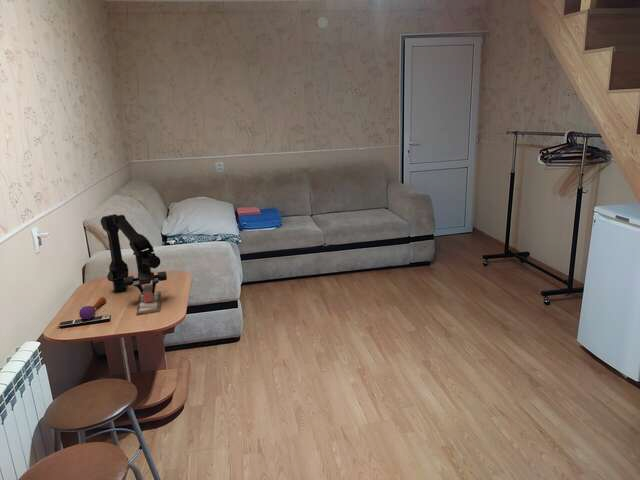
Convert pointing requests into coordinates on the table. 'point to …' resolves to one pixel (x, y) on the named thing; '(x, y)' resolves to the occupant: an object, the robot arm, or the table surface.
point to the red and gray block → (148, 293)
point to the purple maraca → (90, 309)
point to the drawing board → (149, 304)
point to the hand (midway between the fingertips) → (148, 295)
